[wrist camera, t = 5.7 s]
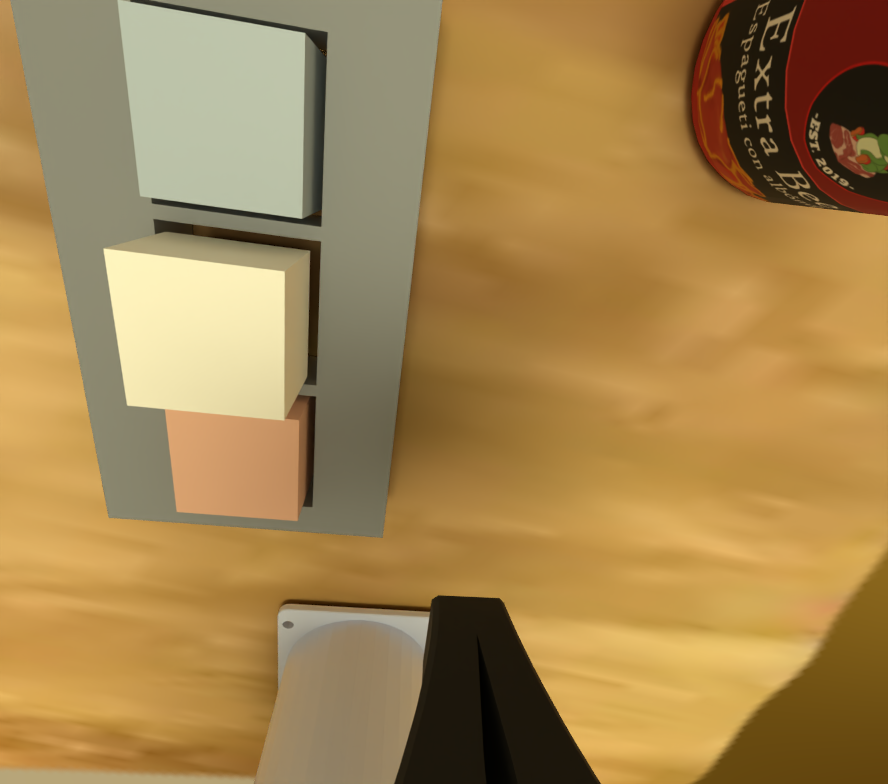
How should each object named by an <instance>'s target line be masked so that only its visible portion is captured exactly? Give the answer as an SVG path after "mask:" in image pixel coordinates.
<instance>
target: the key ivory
mask: <svg viewBox="0 0 888 784" xmlns="http://www.w3.org/2000/svg"><path fill="white" fill-rule="evenodd" d="M103 250H104V256H105V263H106V270H107V276H108V283H109V289H110V296H111V303H112V309H113V316H114V322H115V329H116V335H117V342H118V349H119V355H120V362H121V368H122V375H123V382H124V388H125V395H126V401H127V406H137V407H148V408H158V409H168V410H179V411H189V412H200V413H210V414H220V415H231V416H241V417H251V418H262V419H272V420H283V421H284V420H285V419H286V417H287V415H288V413H289V411H290V409H291V407H292V405H293V403H294V401H295V399H296V397H297V395H298V393H299V391H300V390H301V388H302V386H303V384H304V382H305V380H306V378H307V370H308V326H309V283H310V251H309V250H301V249H293V248H286V247H278V246H271V245H263V244H256V243H248V242H241V241H233V240H226V239H218V238H211V237H203V236H195V235H188V234H180V233H173V232H162V233H159V234H155V235H151V236H148V237H144V238H140V239H136V240H133V241H129V242H125V243H122V244H118V245H114V246H110V247H107V248H103Z"/></svg>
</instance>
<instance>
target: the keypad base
mask: <svg viewBox="0 0 888 784" xmlns="http://www.w3.org/2000/svg"><path fill="white" fill-rule="evenodd" d="M10 1H11V6H12V11H13V17H14V22H15V27H16V32H17V38H18V43H19V48H20V53H21V59H22V64H23V69H24V74H25V80H26V85H27V90H28V95H29V101H30V106H31V111H32V116H33V122H34V127H35V132H36V137H37V143H38V148H39V153H40V158H41V164H42V169H43V174H44V180H45V185H46V190H47V195H48V201H49V206H50V211H51V216H52V222H53V227H54V232H55V237H56V243H57V248H58V253H59V258H60V264H61V269H62V274H63V279H64V285H65V290H66V295H67V300H68V306H69V311H70V316H71V321H72V327H73V332H74V337H75V343H76V348H77V353H78V358H79V364H80V369H81V374H82V379H83V385H84V390H85V395H86V400H87V406H88V411H89V416H90V421H91V427H92V432H93V437H94V442H95V448H96V453H97V458H98V463H99V469H100V474H101V479H102V484H103V490H104V495H105V500H106V506H107V511H108V516H109V518H120V519H134V520H148V521H161V522H175V523H189V524H202V525H216V526H230V527H243V528H257V529H271V530H284V531H298V532H312V533H325V534H339V535H353V536H366V537H380V538H383V531H384V522H385V513H386V504H387V495H388V486H389V477H390V468H391V459H392V450H393V441H394V432H395V423H396V414H397V405H398V396H399V387H400V378H401V369H402V360H403V351H404V342H405V333H406V324H407V315H408V306H409V297H410V288H411V279H412V270H413V261H414V252H415V243H416V234H417V225H418V216H419V207H420V198H421V189H422V180H423V171H424V162H425V153H426V144H427V135H428V126H429V117H430V108H431V99H432V90H433V81H434V72H435V63H436V54H437V45H438V36H439V27H440V18H441V9H442V0H123V1H128V2H134V3H140V4H145V5H151V6H156V7H162V8H168V9H173V10H179V11H184V12H190V13H196V14H201V15H207V16H213V17H218V18H224V19H229V20H235V21H241V22H246V23H252V24H257V25H263V26H269V27H274V28H280V29H285V30H291V31H297V32H302V33H306V35H307V36H308V37H309V38H310V39H311V40H312V42H313V43H314V44H315V45H316V46H317V47H318V49H322V50H327V71H326V102H325V134H324V165H323V197H322V216H316V215H309V216H307V217H305V218H303V219H300V218H293V217H286V216H279V215H272V214H264V213H257V212H250V211H243V210H236V209H228V208H221V207H214V206H207V205H200V204H193V203H185V202H178V201H171V200H164V199H157V198H149V197H142V196H140V191H139V183H138V174H137V165H136V157H135V148H134V139H133V131H132V122H131V113H130V105H129V96H128V87H127V79H126V70H125V61H124V53H123V44H122V35H121V27H120V18H119V9H118V1H117V0H10ZM192 224H195V225H202V226H210V227H217V228H225V229H232V230H239V231H247V232H254V233H262V234H269V235H276V236H284V237H291V238H299V239H306V240H314V241H321V259H320V291H319V322H318V353H317V357H316V356H308V370H307V378H306V380H305V382H304V384H303V386H302V388H301V390H300V391H299V393H298V395H306V396H316V416H315V448H314V473H313V476H312V479H311V482H310V485H309V488H308V491H307V494H306V497H305V500H304V503H303V506H302V509H301V512H300V515H299V518H298V521H290V520H277V519H264V518H250V517H237V516H224V515H211V514H197V513H184V512H177V510H176V501H175V493H174V484H173V475H172V467H171V458H170V449H169V441H168V432H167V423H166V415H165V409H158V408H148V407H137V406H127V401H126V395H125V388H124V382H123V375H122V368H121V362H120V355H119V349H118V342H117V335H116V329H115V322H114V316H113V309H112V303H111V296H110V289H109V283H108V276H107V270H106V263H105V256H104V250H103V248H107V247H110V246H114V245H118V244H122V243H125V242H129V241H133V240H136V239H140V238H144V237H148V236H151V235H155V234H159V233H162V232H173V233H180V234H188V235H193V227H192Z"/></svg>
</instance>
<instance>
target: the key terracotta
mask: <svg viewBox="0 0 888 784" xmlns="http://www.w3.org/2000/svg"><path fill="white" fill-rule="evenodd" d="M165 415H166V423H167V432H168V441H169V449H170V458H171V467H172V475H173V484H174V493H175V501H176V510H177V512H184V513H197V514H211V515H224V516H237V517H250V518H264V519H277V520H290V521H298V518H299V515H300V512H301V509H302V506H303V503H304V500H305V497H306V494H307V491H308V488H309V485H310V482H311V479H312V476H313V473H314V448H315V416H316V396H306V395H297V397H296V399H295V401H294V403H293V405H292V407H291V409H290V411H289V413H288V415H287V417H286V419H285V420H284V421H283V420H272V419H262V418H251V417H241V416H231V415H220V414H210V413H200V412H189V411H179V410H168V409H165Z"/></svg>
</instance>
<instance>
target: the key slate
mask: <svg viewBox="0 0 888 784" xmlns="http://www.w3.org/2000/svg"><path fill="white" fill-rule="evenodd" d="M117 1H118V9H119V18H120V27H121V35H122V44H123V53H124V61H125V70H126V79H127V87H128V96H129V105H130V113H131V122H132V131H133V139H134V148H135V157H136V165H137V174H138V183H139V191H140V196H142V197H149V198H157V199H164V200H171V201H178V202H185V203H193V204H200V205H207V206H214V207H221V208H228V209H236V210H243V211H250V212H257V213H264V214H272V215H279V216H286V217H293V218H300V219H303V218H305V217H307V216H309V215H311V214H313V213H315V212H317V211H319V210H322V197H323V165H324V134H325V102H326V71H327V58H326V57H325V56H324V54H323V53H322V52H321V51H320V50H319V49H318V47H317V46H316V45H315V44H314V43H313V42H312V40H311V39H310V38H309V37H308V36H307V35H306V33H302V32H297V31H291V30H285V29H280V28H274V27H269V26H263V25H257V24H252V23H246V22H241V21H235V20H229V19H224V18H218V17H213V16H207V15H201V14H196V13H190V12H184V11H179V10H173V9H168V8H162V7H156V6H151V5H145V4H140V3H134V2H128V1H123V0H117Z"/></svg>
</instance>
